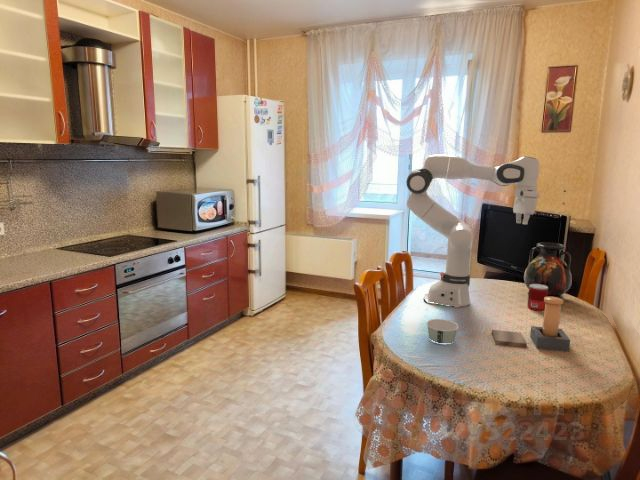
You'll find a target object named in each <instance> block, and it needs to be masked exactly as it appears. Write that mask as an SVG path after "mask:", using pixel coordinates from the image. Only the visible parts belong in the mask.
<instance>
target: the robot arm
mask: <svg viewBox="0 0 640 480" xmlns="http://www.w3.org/2000/svg"><path fill="white" fill-rule="evenodd" d="M539 177H540V161H539V160H538V159H537V158H535V157H531V156H522V157H520V158H518V159H516V160H513V161H510V162H505V163H503V164H501V165H498V166H494V167H493V166H485V165H478V164H474V163H472V162H470V161H468V160H467V159H466V158H463V157H460V156H456V155H450V154H432V155H428V156H427V158H426V159H425V161H424V163H423V167H422V168H418V169H414V170H412V171H411V172H410V173H409V174H408V175H407V179H406V182H405V183H406V188H407V189H408V190H409V191H410V195H409V196H408V197H407V198H408V199H407V202H406V205H407V208H408V209H409V210H410V211H411V212H412V214H414V215H415V216H416V217H418V219H419V220H421V221H422V222H423V223H425V224H426V225H427V226H428V227H430V228H431V229H432V230H434V231H436V232H437V233H438V234H441V235H442V236H443V237H445V238H446V239H447V240H448V241H447V249H446V250H447V251H446V252H447V253H446V262H445V265H446V267H445V272H444V271H441V272H440V274H439V276H440V279H439V280H438V281H437V282H435V283H433V284H432V285H431V286H430V287H429V290H428V293H426V294H424V295H423V300H424V299H428V302H434V303H438V304H443V305H449V306H448V307H450V306H454V307H453V308H457V307H458V308H461V307H464V306H465V307H466V306H469V305H470V304H471V298H470V290H469V289H470V288H469V287H470V284H471V274H470V270H471V269H470V268H471V265H470V264H471V257H472V250H473V241H474V235H473V232H472V229H471V228H470V226H469V225H468V224H467V223H465V221H462V220H461V219H460V218H458V217H457V216H456V215H454V214H453V213H452V212H450V211H449V210H447V209H446V208H444V207H443V206H442V205H441V204H440V203H438V202H437V201H436V200H435V199H433V198H432V197H430V195H428V193H427V191H428V190H429V188H430V186H431V183H432V181H433V180H434V179H444V180H454V181H455V180H464V179H465V180H467V179H478V180H484V181H485V180H486V181H490V182H493V183H494V184H496V185H498V186H500V187H507V186H510V185H512V184H515V190H514V197H515V198H514V203H513V207H512V211H513V212H512V213H513V214H515V219H516V220H515V221H516V224H522V225H528V222H529V219H530V217H531V215H534V214H535V212H536V207H537V203H538V198H539V197H540V193H539V191H538V180H539ZM522 214H523V219H522ZM443 305H442V306H443ZM460 306H461V307H460Z"/></svg>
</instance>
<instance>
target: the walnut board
mask: <svg viewBox="0 0 640 480" xmlns="http://www.w3.org/2000/svg"><path fill="white" fill-rule="evenodd" d="M491 336H492V339H493V342H494V344H495V345H501V346H511V347H521V348H527V345H528V344H527V341H526V339H525V338H524V337H525V336H524V335H523V334H522V332H520V331H511V330H509V331H508V330H500V329H499V330H498V329H491Z"/></svg>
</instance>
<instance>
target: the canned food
mask: <svg viewBox="0 0 640 480" xmlns="http://www.w3.org/2000/svg"><path fill="white" fill-rule="evenodd" d="M528 292H529V295H528V294H527V295H528V298H527V308H528V309H530V310H532V311H537V312H542V311H544V312H545V303H546V302H544V297H547V295H548V287H547V286H545V285H541V284H530V286H529V289H528Z"/></svg>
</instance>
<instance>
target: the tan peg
mask: <svg viewBox="0 0 640 480" xmlns="http://www.w3.org/2000/svg"><path fill="white" fill-rule="evenodd" d="M544 302H546V303H545V310H544V313H543V315H544V316H543V322H542V323H543V324H542V327H543V331H542V335H544V336H555V337H557V336H558V329H559V327H560V318H561V309H562V305H564V299H561V298H557V297H544Z"/></svg>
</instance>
